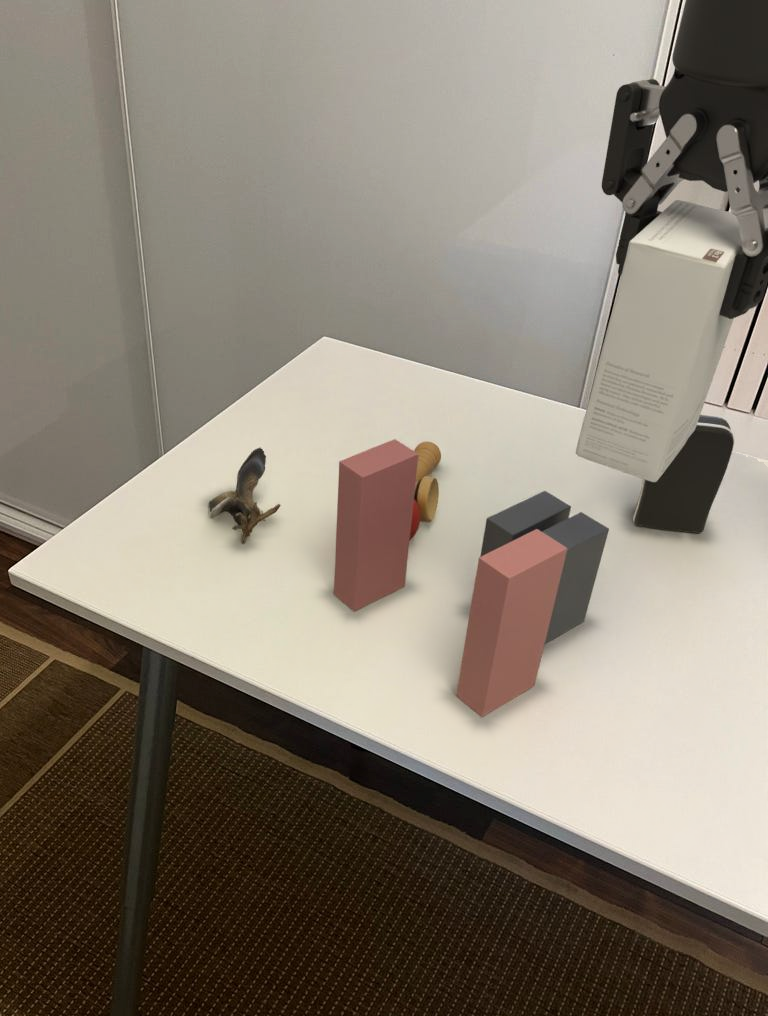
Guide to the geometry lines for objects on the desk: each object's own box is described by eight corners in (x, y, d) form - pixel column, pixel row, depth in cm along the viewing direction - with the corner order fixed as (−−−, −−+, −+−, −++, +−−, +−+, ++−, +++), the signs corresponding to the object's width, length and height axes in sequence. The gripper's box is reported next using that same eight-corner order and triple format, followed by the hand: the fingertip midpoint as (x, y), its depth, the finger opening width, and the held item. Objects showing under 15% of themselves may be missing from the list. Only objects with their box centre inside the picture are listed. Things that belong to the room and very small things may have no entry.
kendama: (383, 470, 106) (331, 542, 92) (399, 417, 102) (349, 484, 88) (449, 495, 105) (407, 572, 91) (468, 443, 101) (428, 515, 87)
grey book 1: (525, 581, 90) (544, 490, 83) (550, 598, 88) (571, 506, 81) (470, 610, 87) (486, 517, 80) (495, 628, 85) (512, 535, 78)
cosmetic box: (616, 410, 71) (672, 195, 61) (699, 435, 68) (771, 215, 58) (571, 460, 65) (623, 234, 55) (659, 488, 63) (730, 257, 53)
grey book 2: (558, 604, 87) (581, 511, 81) (584, 621, 85) (609, 528, 79) (503, 634, 84) (521, 541, 77) (528, 653, 82) (550, 559, 76)
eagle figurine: (301, 528, 94) (282, 465, 99) (263, 487, 88) (244, 423, 94) (236, 566, 96) (220, 502, 101) (195, 528, 91) (181, 463, 96)
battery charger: (700, 514, 98) (735, 412, 90) (704, 536, 95) (741, 432, 87) (629, 506, 99) (657, 404, 91) (631, 527, 96) (661, 424, 88)
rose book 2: (508, 665, 81) (537, 528, 72) (534, 686, 79) (567, 548, 70) (455, 695, 79) (478, 557, 69) (481, 717, 77) (509, 578, 67)
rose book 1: (383, 570, 91) (395, 438, 81) (404, 586, 89) (418, 453, 80) (333, 594, 88) (338, 461, 79) (354, 611, 86) (362, 477, 77)
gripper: (956, -21, 46) (822, 319, 57) (698, -56, 54) (625, 245, 65) (870, -6, 42) (746, 353, 53) (610, -46, 51) (549, 270, 62)
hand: (680, 293), depth 59 cm, fingers closed on cosmetic box, 7 cm apart
